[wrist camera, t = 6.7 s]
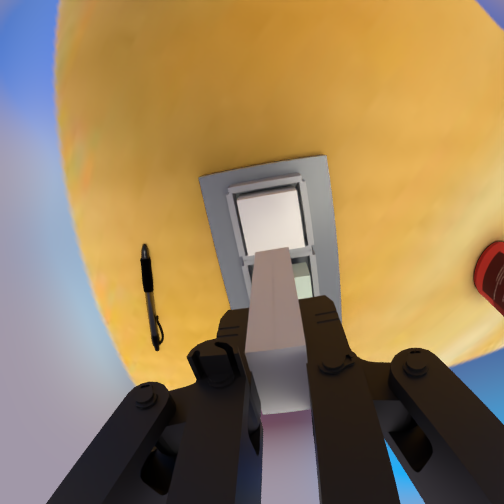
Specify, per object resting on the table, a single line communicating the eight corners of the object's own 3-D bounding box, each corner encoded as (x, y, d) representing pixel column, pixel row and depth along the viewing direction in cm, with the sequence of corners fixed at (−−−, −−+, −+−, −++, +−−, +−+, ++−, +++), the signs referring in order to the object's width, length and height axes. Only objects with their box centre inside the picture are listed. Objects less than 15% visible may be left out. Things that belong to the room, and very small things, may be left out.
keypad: (202, 175, 25) (193, 180, 22) (322, 154, 24) (331, 156, 21) (247, 356, 33) (245, 376, 29) (339, 342, 31) (345, 362, 28)
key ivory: (239, 194, 23) (236, 200, 21) (293, 185, 23) (296, 190, 21) (249, 245, 25) (248, 256, 23) (301, 236, 25) (304, 246, 22)
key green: (252, 270, 24) (251, 284, 22) (305, 261, 24) (310, 275, 21) (262, 314, 26) (261, 330, 23) (311, 306, 25) (315, 322, 23)
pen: (165, 346, 34) (166, 352, 33) (152, 347, 33) (152, 353, 32) (155, 242, 28) (154, 246, 27) (139, 243, 28) (138, 247, 27)
